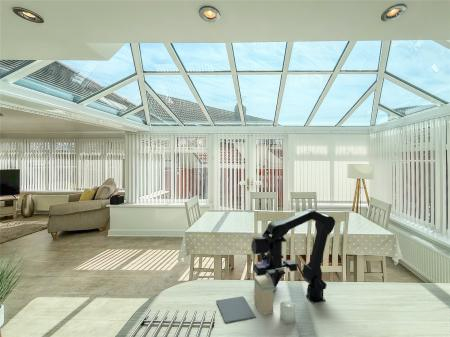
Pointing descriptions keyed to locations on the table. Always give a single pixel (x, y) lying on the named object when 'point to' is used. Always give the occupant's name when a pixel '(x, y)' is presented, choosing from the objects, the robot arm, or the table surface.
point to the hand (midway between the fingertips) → (275, 286)
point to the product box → (267, 274)
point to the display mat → (235, 309)
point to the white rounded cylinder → (287, 312)
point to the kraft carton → (263, 294)
